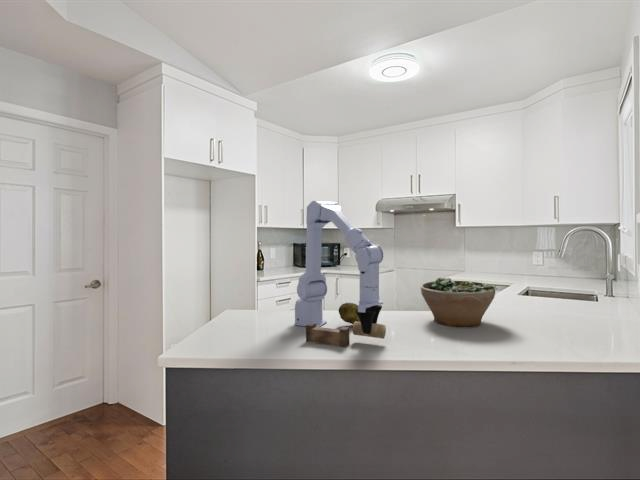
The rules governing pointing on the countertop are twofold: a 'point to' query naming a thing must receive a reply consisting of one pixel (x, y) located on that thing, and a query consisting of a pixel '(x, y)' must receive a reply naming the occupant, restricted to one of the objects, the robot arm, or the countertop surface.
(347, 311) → the potato
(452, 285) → the planter
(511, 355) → the countertop surface
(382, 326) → the roller
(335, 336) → the stop rail
